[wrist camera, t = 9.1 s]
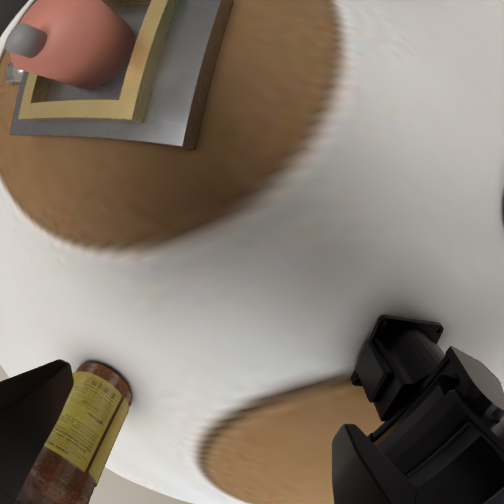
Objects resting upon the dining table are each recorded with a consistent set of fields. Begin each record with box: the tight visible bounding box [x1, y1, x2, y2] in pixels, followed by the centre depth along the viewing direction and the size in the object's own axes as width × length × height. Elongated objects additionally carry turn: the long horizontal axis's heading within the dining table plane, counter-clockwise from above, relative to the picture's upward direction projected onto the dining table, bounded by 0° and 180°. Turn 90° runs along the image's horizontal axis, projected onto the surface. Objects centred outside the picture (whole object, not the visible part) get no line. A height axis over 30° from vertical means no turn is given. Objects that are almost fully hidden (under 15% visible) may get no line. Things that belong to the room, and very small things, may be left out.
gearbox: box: [5, 0, 233, 149], centre depth 13 cm, size 17×11×4 cm, turn 78°
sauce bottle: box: [15, 362, 131, 504], centre depth 13 cm, size 7×6×20 cm
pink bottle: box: [5, 0, 133, 89], centre depth 9 cm, size 5×5×7 cm
